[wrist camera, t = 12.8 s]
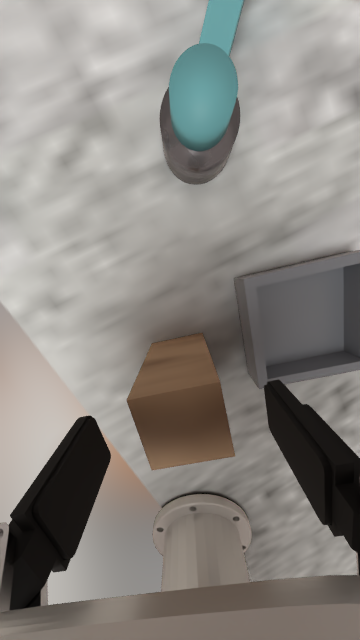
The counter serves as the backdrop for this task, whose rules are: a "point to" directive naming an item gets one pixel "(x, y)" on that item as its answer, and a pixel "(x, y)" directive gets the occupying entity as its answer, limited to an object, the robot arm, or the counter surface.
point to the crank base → (196, 163)
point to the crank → (206, 80)
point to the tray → (301, 319)
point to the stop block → (180, 405)
